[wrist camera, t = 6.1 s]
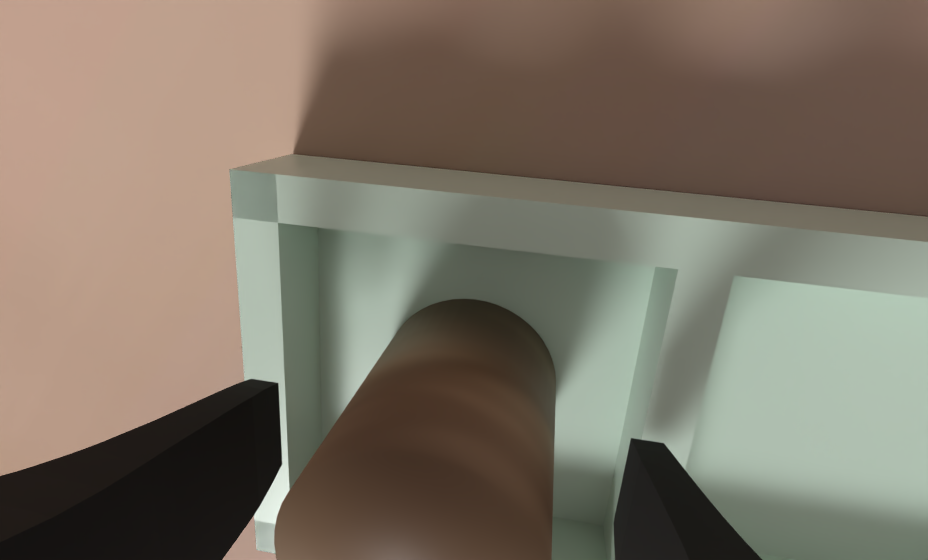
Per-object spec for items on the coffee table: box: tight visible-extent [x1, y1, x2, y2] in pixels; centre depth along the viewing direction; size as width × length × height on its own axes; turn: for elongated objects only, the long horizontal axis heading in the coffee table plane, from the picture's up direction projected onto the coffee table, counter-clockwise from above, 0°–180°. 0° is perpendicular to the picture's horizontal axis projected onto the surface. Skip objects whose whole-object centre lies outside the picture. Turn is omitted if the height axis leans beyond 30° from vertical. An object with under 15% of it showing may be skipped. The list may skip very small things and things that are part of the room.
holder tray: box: [229, 154, 928, 560], centre depth 13 cm, size 19×10×3 cm, turn 86°
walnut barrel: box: [274, 299, 556, 560], centre depth 11 cm, size 4×4×6 cm
